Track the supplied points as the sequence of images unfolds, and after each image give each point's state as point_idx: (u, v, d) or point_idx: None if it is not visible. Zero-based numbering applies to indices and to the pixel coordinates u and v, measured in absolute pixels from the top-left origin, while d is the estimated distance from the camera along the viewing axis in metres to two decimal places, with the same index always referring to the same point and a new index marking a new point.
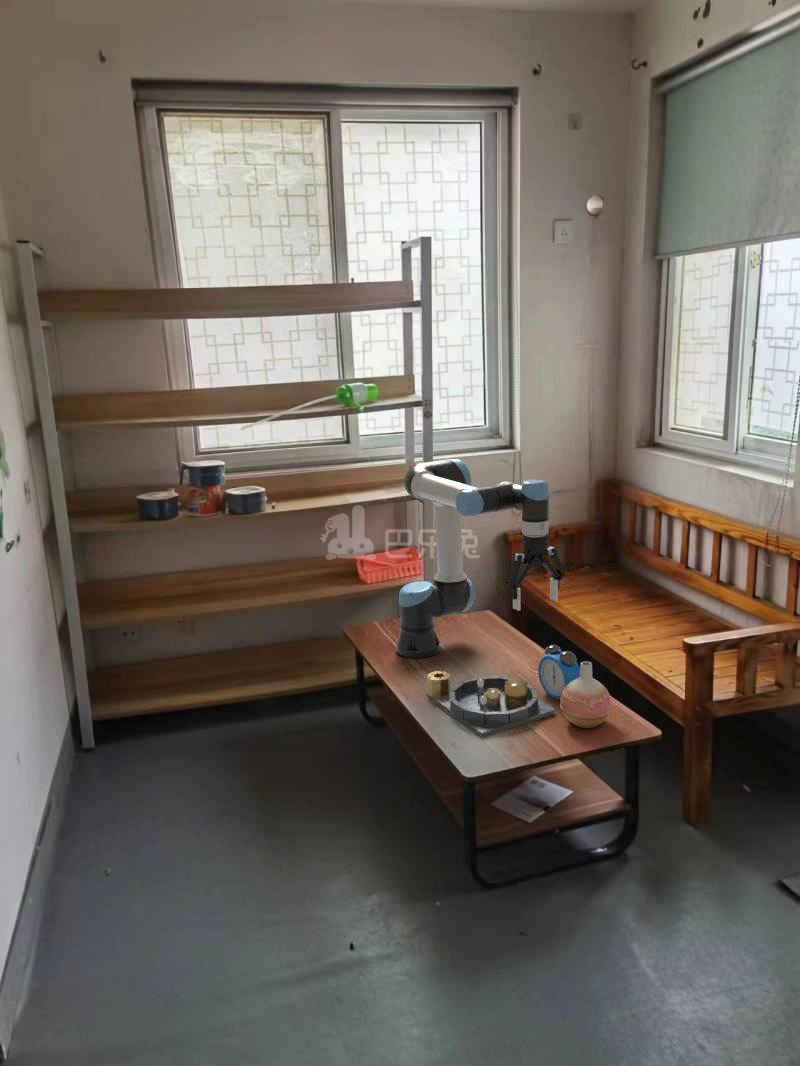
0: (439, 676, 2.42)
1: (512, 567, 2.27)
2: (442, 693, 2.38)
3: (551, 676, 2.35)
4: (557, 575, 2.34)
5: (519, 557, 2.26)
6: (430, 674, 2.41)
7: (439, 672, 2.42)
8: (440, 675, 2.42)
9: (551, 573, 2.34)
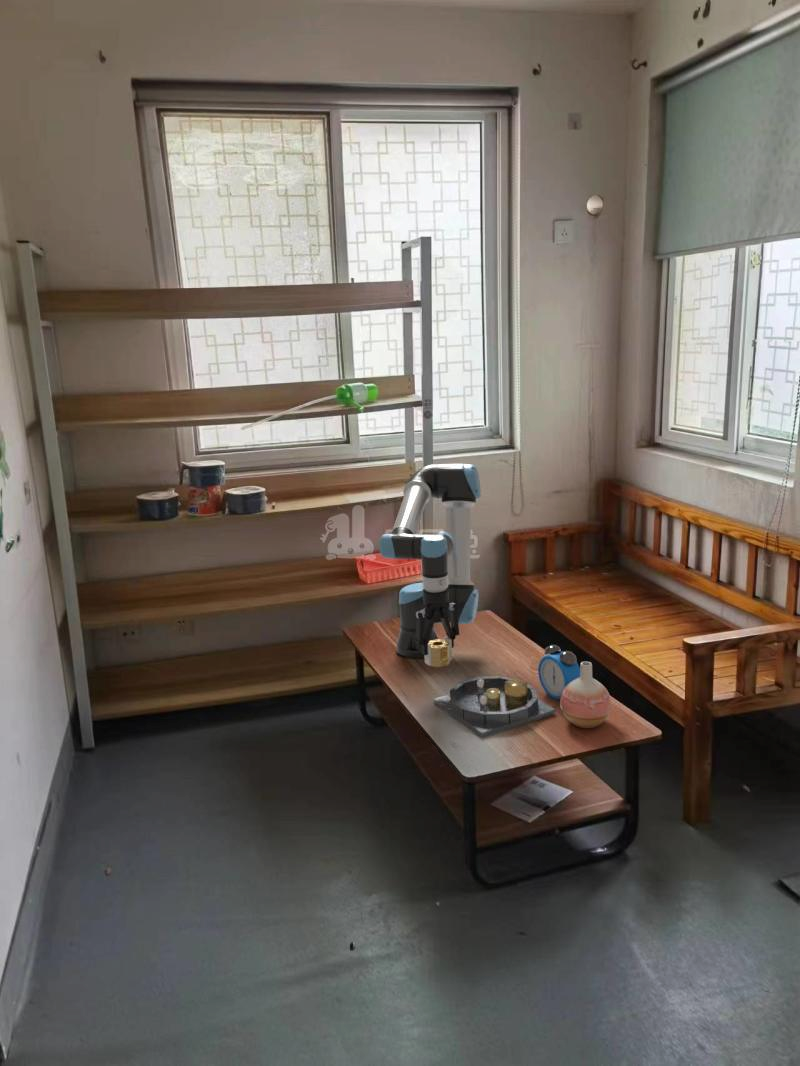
0: (438, 644, 2.40)
1: (417, 625, 2.34)
2: (441, 661, 2.36)
3: (551, 676, 2.35)
4: (451, 634, 2.38)
5: (419, 616, 2.31)
6: (429, 642, 2.39)
7: (438, 640, 2.40)
8: (439, 643, 2.39)
9: (446, 630, 2.39)
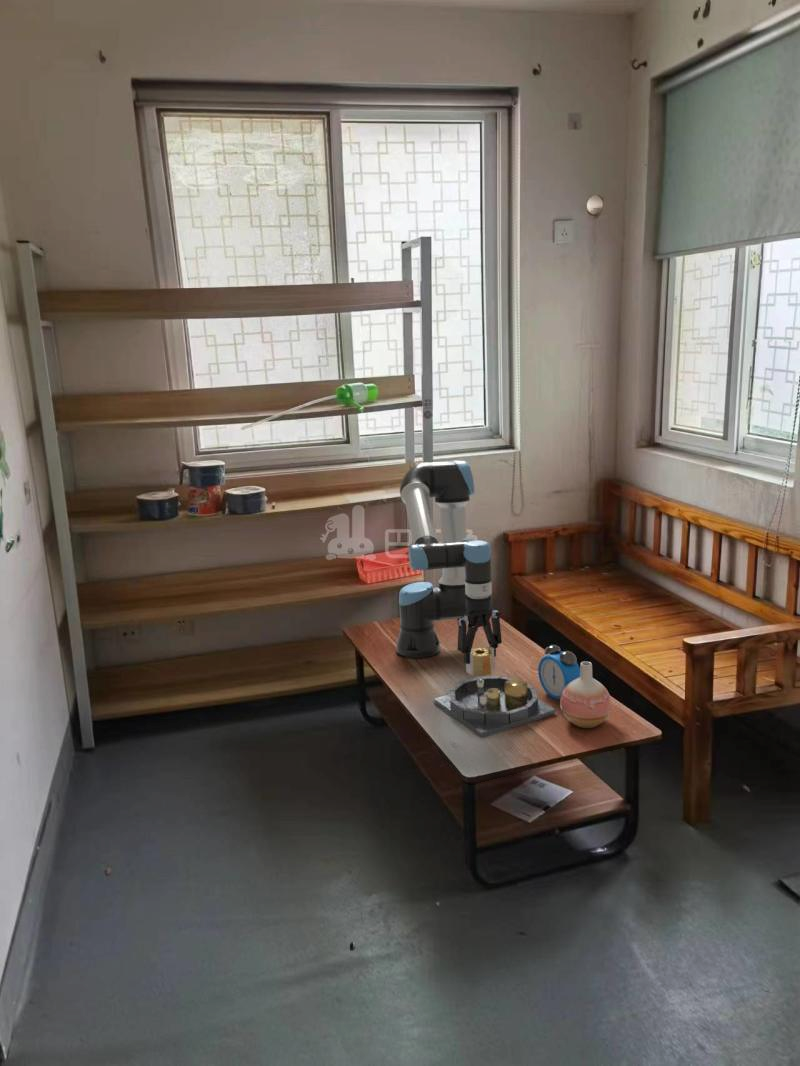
0: (480, 653, 2.34)
1: (459, 632, 2.28)
2: (484, 670, 2.30)
3: (551, 676, 2.35)
4: (494, 642, 2.33)
5: (462, 623, 2.26)
6: (471, 651, 2.33)
7: (480, 649, 2.34)
8: (481, 651, 2.34)
9: (489, 638, 2.33)
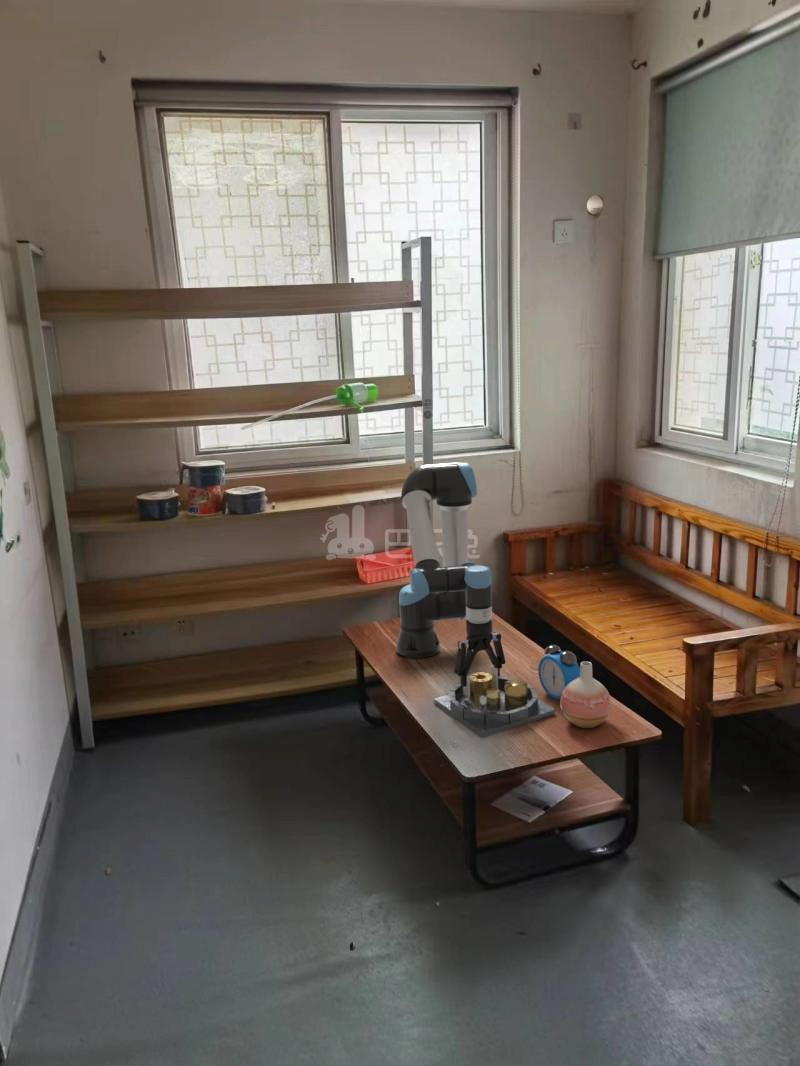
0: (481, 677, 2.36)
1: (458, 655, 2.30)
2: None
3: (551, 676, 2.35)
4: (497, 663, 2.35)
5: (462, 646, 2.28)
6: (472, 675, 2.35)
7: (481, 673, 2.36)
8: (482, 676, 2.36)
9: (492, 660, 2.35)
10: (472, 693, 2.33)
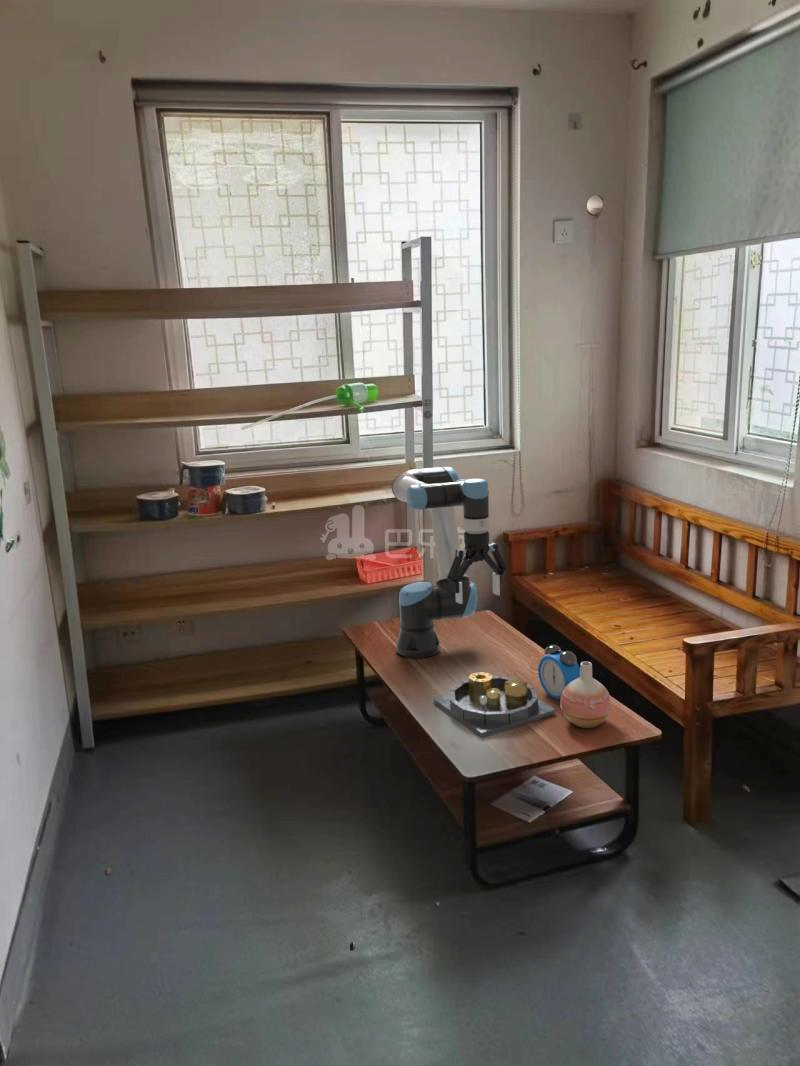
0: (481, 677, 2.36)
1: (454, 562, 2.38)
2: None
3: (551, 676, 2.35)
4: (499, 570, 2.44)
5: (460, 553, 2.36)
6: (472, 675, 2.35)
7: (481, 673, 2.36)
8: (482, 676, 2.36)
9: (493, 568, 2.45)
10: (472, 693, 2.33)
